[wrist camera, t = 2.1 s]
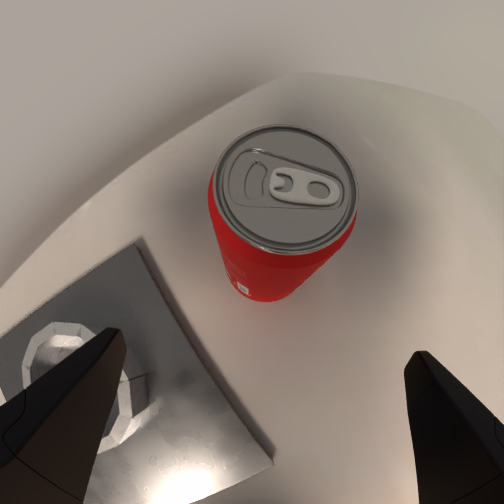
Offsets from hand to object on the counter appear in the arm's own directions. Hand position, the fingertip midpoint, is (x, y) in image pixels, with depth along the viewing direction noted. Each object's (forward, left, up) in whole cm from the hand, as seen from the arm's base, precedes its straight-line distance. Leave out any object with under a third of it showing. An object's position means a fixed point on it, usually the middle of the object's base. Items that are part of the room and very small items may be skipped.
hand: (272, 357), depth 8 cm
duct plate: (+1, +13, -12) cm, 17 cm away
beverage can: (+4, -3, -12) cm, 13 cm away
